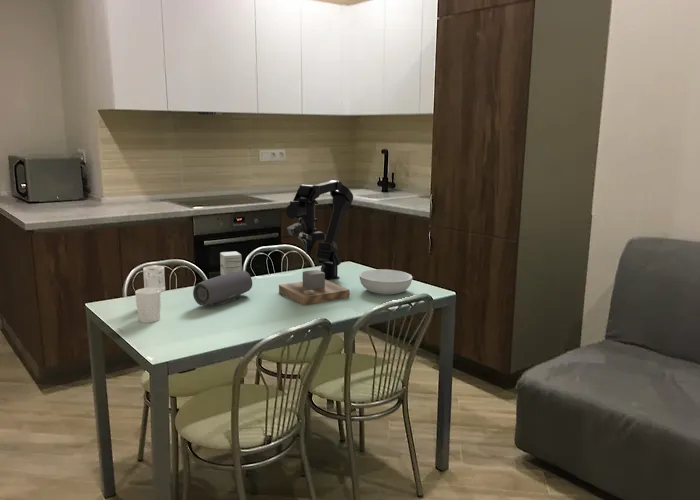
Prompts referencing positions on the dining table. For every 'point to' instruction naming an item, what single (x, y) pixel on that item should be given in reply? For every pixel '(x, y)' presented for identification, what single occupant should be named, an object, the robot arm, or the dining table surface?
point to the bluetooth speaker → (222, 288)
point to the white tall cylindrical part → (154, 277)
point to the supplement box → (230, 262)
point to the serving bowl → (385, 281)
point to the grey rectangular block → (313, 279)
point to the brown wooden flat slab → (313, 292)
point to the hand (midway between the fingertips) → (307, 254)
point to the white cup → (148, 304)
